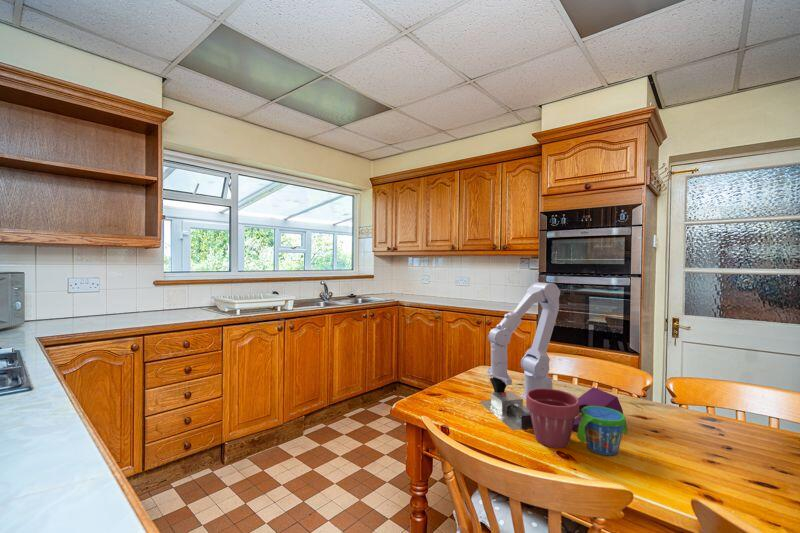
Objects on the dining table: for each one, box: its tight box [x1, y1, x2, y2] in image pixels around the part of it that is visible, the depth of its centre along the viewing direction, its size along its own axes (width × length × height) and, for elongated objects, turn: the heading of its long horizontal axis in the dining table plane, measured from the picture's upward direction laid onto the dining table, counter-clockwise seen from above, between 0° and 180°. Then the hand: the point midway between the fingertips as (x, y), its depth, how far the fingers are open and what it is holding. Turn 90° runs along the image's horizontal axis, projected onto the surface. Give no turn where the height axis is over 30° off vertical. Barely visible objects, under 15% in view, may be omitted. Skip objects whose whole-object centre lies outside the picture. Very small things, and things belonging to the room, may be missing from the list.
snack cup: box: [576, 406, 628, 456], centre depth 101 cm, size 16×10×10 cm
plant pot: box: [525, 388, 580, 449], centre depth 106 cm, size 14×14×13 cm
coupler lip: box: [478, 399, 533, 431], centre depth 125 cm, size 14×24×4 cm, turn 13°
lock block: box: [490, 390, 524, 413], centre depth 129 cm, size 8×8×5 cm
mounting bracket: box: [572, 386, 624, 431], centre depth 117 cm, size 9×8×18 cm
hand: (499, 398), depth 135 cm, fingers closed
